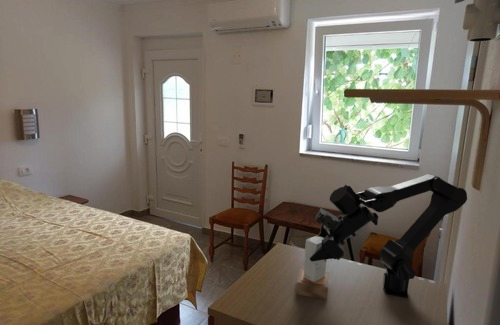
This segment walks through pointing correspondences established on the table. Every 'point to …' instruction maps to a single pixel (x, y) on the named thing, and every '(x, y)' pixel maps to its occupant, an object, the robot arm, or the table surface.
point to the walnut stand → (312, 286)
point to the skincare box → (315, 268)
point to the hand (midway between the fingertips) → (310, 253)
